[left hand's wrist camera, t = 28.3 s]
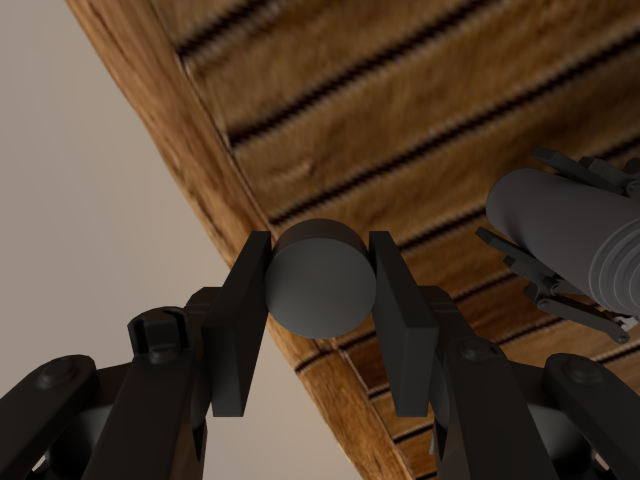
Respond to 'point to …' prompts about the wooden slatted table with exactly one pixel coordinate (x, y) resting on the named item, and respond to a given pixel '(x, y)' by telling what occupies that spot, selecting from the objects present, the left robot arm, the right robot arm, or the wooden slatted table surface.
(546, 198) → the bottle
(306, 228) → the cap
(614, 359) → the wooden slatted table surface
